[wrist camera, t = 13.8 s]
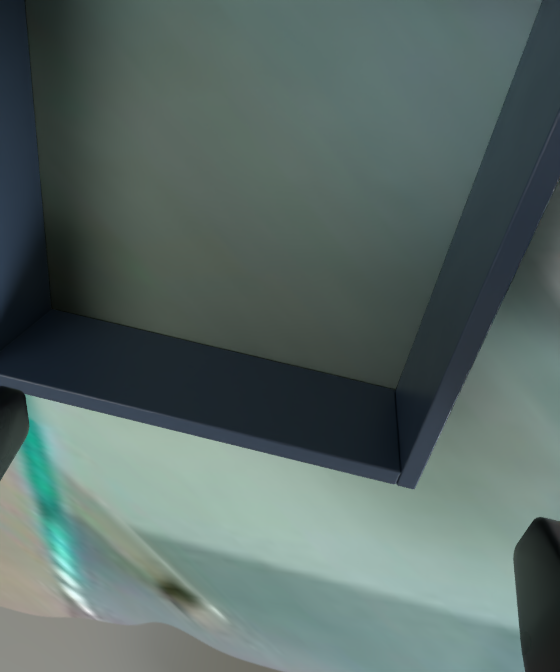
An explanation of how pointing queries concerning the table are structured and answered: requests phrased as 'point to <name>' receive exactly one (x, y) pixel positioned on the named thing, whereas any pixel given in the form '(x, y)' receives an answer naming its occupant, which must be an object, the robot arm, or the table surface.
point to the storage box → (260, 374)
